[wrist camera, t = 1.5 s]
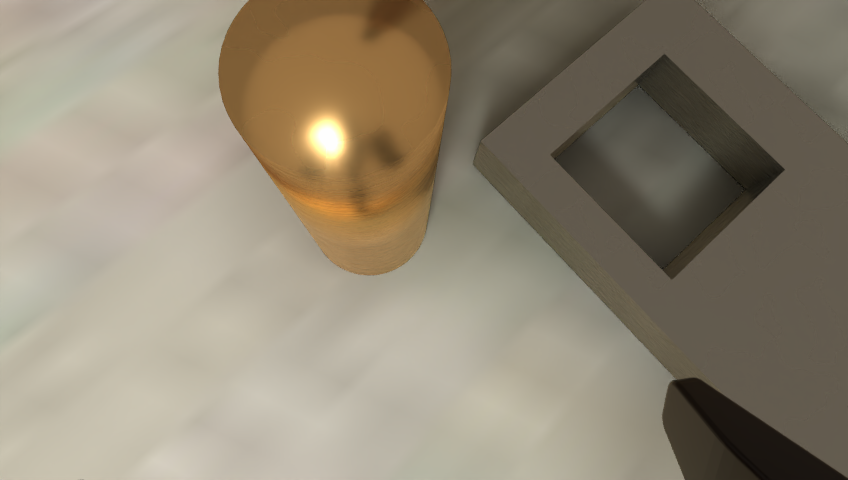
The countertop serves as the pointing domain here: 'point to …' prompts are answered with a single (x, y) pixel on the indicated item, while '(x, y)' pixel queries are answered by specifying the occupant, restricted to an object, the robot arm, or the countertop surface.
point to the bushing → (343, 117)
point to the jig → (724, 238)
